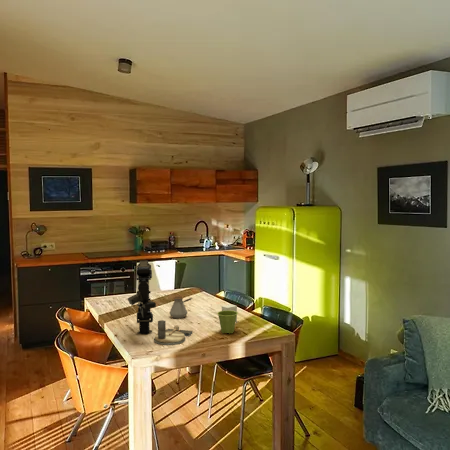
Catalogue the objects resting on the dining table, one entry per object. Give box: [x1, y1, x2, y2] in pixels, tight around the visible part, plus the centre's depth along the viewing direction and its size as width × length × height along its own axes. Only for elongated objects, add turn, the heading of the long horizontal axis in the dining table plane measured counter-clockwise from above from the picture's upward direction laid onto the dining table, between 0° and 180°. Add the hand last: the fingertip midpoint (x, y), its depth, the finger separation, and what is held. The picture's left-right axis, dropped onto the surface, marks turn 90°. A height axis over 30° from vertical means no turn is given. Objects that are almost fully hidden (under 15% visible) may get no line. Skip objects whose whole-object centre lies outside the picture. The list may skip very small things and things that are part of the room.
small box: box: [221, 303, 238, 323], centre depth 287 cm, size 8×6×10 cm
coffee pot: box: [169, 296, 193, 319], centre depth 296 cm, size 21×12×15 cm, turn 38°
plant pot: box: [216, 310, 239, 334], centre depth 267 cm, size 12×12×11 cm
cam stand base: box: [153, 328, 193, 346], centre depth 255 cm, size 23×17×2 cm
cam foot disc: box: [154, 319, 186, 343], centre depth 255 cm, size 21×16×10 cm
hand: (144, 317), depth 252 cm, fingers closed
